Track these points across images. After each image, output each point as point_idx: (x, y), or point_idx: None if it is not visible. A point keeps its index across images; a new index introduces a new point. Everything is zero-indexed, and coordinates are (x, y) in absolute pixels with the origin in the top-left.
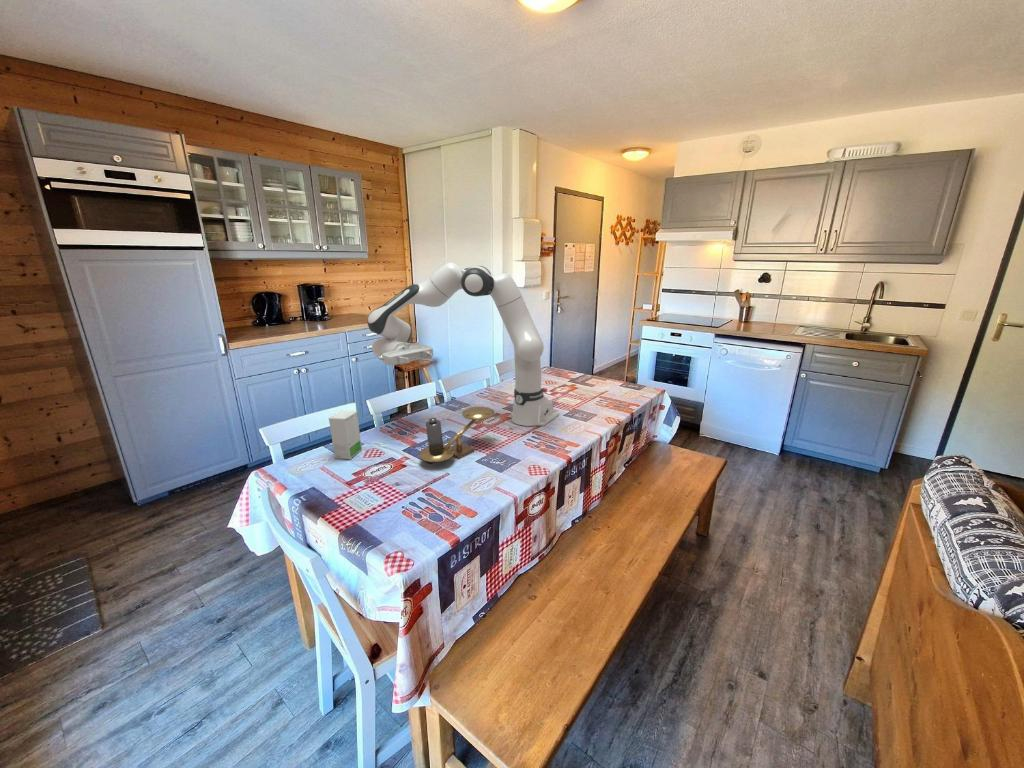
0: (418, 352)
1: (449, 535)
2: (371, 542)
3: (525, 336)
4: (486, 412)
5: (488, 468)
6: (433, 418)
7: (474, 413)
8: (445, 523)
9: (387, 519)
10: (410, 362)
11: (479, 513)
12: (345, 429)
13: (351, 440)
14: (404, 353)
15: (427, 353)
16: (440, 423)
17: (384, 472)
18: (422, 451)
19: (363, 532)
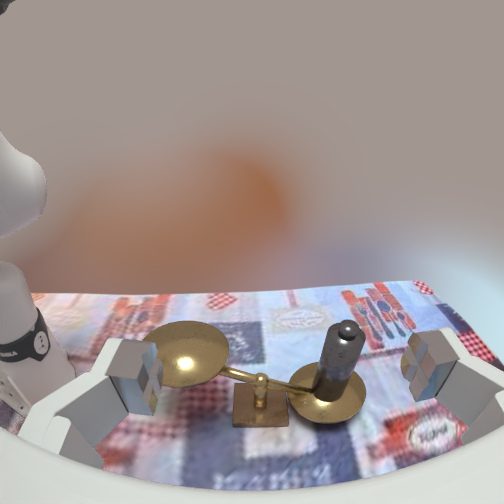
0: (167, 488)
1: (379, 286)
2: (445, 308)
3: (22, 155)
4: (171, 336)
5: (265, 337)
6: (346, 326)
7: (194, 351)
8: (377, 296)
9: (431, 325)
10: (406, 366)
11: (340, 290)
12: None
13: None
14: (487, 443)
15: (121, 370)
16: (331, 327)
17: (426, 419)
18: (352, 409)
19: (452, 321)
